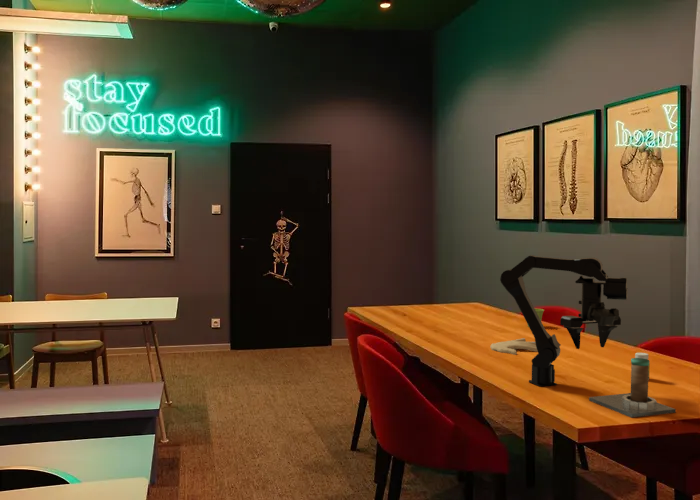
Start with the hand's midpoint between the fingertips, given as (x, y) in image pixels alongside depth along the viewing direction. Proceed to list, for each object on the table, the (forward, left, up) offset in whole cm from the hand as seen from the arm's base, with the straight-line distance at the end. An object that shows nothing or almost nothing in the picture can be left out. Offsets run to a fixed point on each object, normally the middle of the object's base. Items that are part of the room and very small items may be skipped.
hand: (590, 348), depth 200 cm
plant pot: (+53, +106, -13) cm, 119 cm away
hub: (-1, -19, -13) cm, 23 cm away
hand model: (+12, +59, -14) cm, 62 cm away
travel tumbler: (-1, -22, -12) cm, 25 cm away
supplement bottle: (+26, +6, -13) cm, 30 cm away
